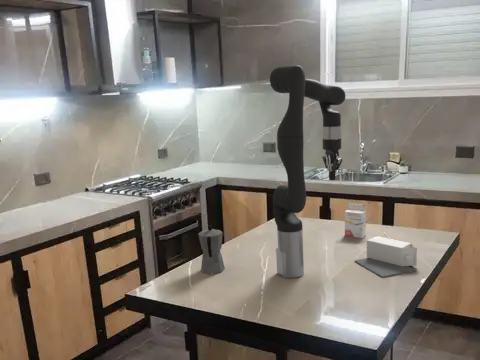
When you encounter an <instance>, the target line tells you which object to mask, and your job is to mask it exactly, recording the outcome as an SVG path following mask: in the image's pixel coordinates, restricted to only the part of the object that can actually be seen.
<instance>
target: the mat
mask: <svg viewBox="0 0 480 360" xmlns="http://www.w3.org/2000/svg"><path fill="white" fill-rule="evenodd" d="M354 262H355V263H356V264H358V265H359V266H361V267H363V268H365V269H367V270H369V271H370V272H372V273H374V274H375V275H376V276H379V277H380V278H388V277H394V276H398V275H403V274H408V273H413V272H416V268H413V267H411V266H399V265H395V264H391V263H387V262H383V261H379V260H375V259H371V258H367V257H366V258H360V259H355V260H354Z"/></svg>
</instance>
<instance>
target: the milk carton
mask: <svg viewBox="0 0 480 360" xmlns="http://www.w3.org/2000/svg"><path fill="white" fill-rule="evenodd" d="M417 249H418V248H417V247H414V245H413V244H412V242H407V241H402V240H399V239H398V240H396V239H392V238H388V237H384V236H378V235H377V236H374V237H372V238H369V239H367V240H366V258H371V259H375V260H379V261H383V262H387V263H391V264H395V265H399V266H409V267H411V266H414V267H417V262H418V261H417V258H418V256H417V255H418V253H417V252H418V250H417Z"/></svg>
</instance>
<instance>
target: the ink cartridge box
mask: <svg viewBox="0 0 480 360" xmlns="http://www.w3.org/2000/svg"><path fill="white" fill-rule="evenodd" d="M347 206H348V209H346V210H345V211H344V236H345V237H351V238H352V237H353V238H361V239H363V238H364V237H365V236H366V234H367V233H366V232H367V230H366V229H367V228H366V224H367V223H366V222H367V221H366V219H367V216H366V214H367V211H366V204H364V203H355V202H348V203H347Z"/></svg>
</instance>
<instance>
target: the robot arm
mask: <svg viewBox="0 0 480 360" xmlns="http://www.w3.org/2000/svg"><path fill="white" fill-rule="evenodd" d="M269 84H270V87H271V88H272V90H273V91H274V92H276V93H279V94H288V96H289V98H288V106H287V110H286V112H285V114H284V116H283V118H282V120H281V121H280V123H279V126H278V128H277V130H276V131H277V132H276V141H277V143H276V145H277V153H278V156H279V158H280V160H281V163H282V164H283V167H284V169H285V171H286V175H287V184H282V185H278V186H277V187H276V189H275V190H274V192H273V196H272V206H273V217H274V222H275V224H276V231H277V232H276V233H277V234H276V235H277V248H275V253H276V257H275V258H276V273H277V274H278V275H279V276H281V278H282V279H294V278H300V277H302V276H304V274H305V264H304V263H305V261H304V238H303V237H304V236H303V235H304V234H303V231H304V230H303V221H302V220H301V219H300V218H299V217H298V216H297V214H299V213H301V212H302V211H303V210H304V208H305V206H306V202H307V189H306V181H305V171H304V169H305V168H304V165H305V164H304V105H305V104H304V103H305V98H309V99H311V100H313V101H316V102H318V104H319V106H320V111H321V114H322V132H321V133H322V149H323V150H325V151H324V152H325V153H324V155H322V156H321V157H322V161H323V164H324V166H325V169H327V170H328V180H330V181H335V180H336V172H337V171H339V169H340V167H341V164H342V163H343V158H340V151H339V150H341V149H342V127H341V125H342V123H341V120H342V118H341V115H342V114H341V113H340V111H336V110H334V109H332V107H331V106H338V105H339V106H340V105H342V104H343V103H344V102H345V100H346V92H345V90H344V89H343V88H342V87H341V86H339V85H332V84H326V83H324V82H322V81H319V80H316V79H310V78H306V74H305V71H304V69H303V67H302V66H301V65H298V64H295V65H283V66H278V67H275V68H273V70H271V72H270V75H269Z"/></svg>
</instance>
